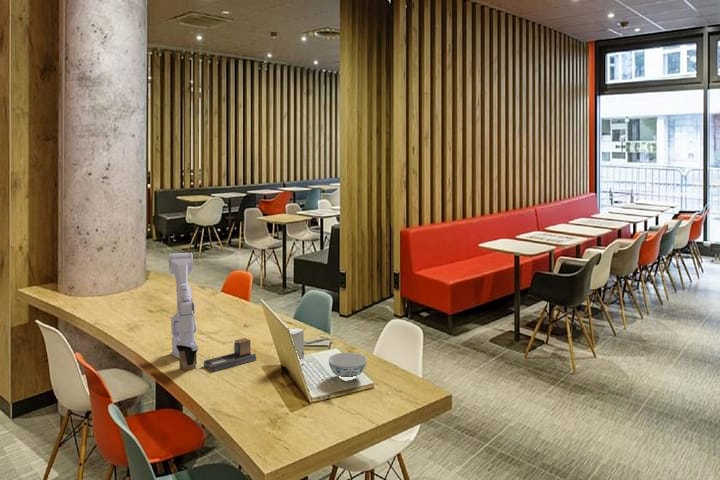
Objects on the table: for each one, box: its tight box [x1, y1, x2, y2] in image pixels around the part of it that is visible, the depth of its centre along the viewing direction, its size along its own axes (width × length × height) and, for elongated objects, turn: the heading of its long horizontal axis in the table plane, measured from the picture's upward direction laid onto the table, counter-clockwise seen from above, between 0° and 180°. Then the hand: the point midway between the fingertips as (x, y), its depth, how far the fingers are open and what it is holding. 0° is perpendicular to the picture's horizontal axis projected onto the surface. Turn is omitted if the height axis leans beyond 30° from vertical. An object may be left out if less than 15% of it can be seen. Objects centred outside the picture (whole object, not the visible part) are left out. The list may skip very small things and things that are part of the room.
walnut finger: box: [178, 351, 197, 372], centre depth 235 cm, size 4×6×7 cm
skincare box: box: [288, 327, 305, 360], centre depth 239 cm, size 8×6×15 cm
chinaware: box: [327, 352, 368, 377], centre depth 227 cm, size 15×15×8 cm
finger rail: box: [203, 337, 257, 373], centre depth 241 cm, size 8×20×8 cm, turn 133°
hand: (187, 363), depth 235 cm, fingers closed on walnut finger, 4 cm apart
